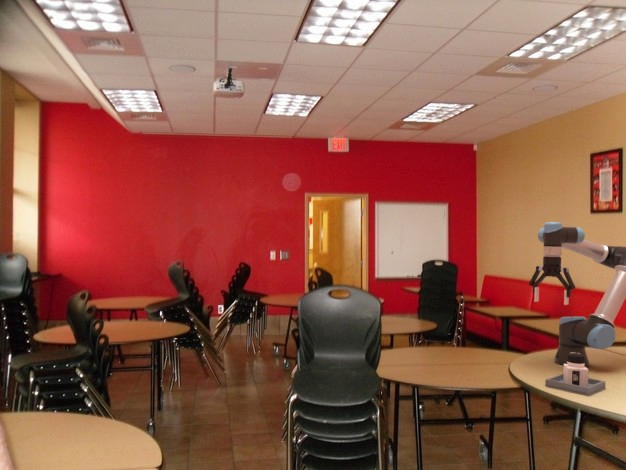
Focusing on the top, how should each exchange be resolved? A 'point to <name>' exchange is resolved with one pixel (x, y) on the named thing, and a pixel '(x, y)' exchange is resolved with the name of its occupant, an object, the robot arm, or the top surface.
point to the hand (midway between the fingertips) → (551, 303)
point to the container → (575, 370)
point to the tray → (558, 383)
